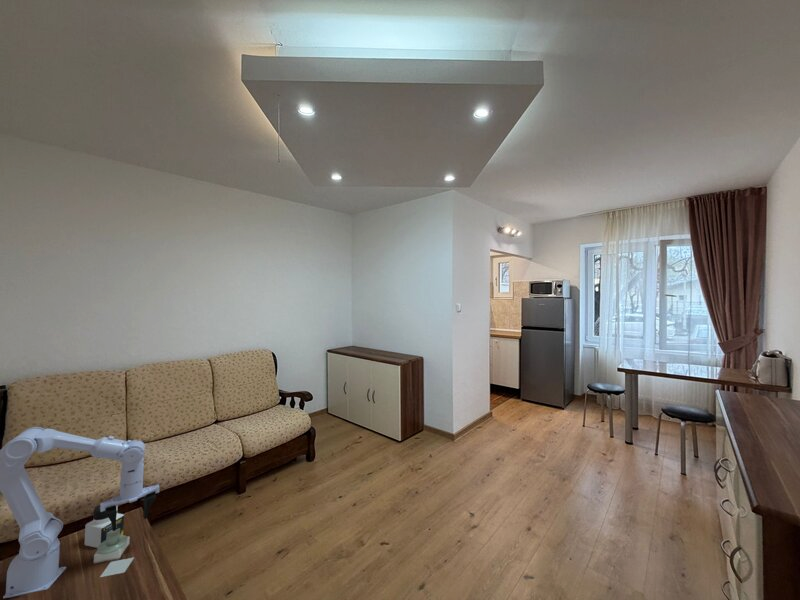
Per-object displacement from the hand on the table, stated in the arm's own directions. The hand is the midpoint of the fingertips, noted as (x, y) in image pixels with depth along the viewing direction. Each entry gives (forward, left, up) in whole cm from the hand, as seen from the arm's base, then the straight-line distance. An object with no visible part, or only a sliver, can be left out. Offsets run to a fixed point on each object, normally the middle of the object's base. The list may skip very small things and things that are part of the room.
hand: (130, 523), depth 102 cm
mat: (-1, -5, -10) cm, 11 cm away
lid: (-5, +1, -7) cm, 8 cm away
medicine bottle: (-11, +10, -10) cm, 18 cm away
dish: (-5, +2, -10) cm, 11 cm away
